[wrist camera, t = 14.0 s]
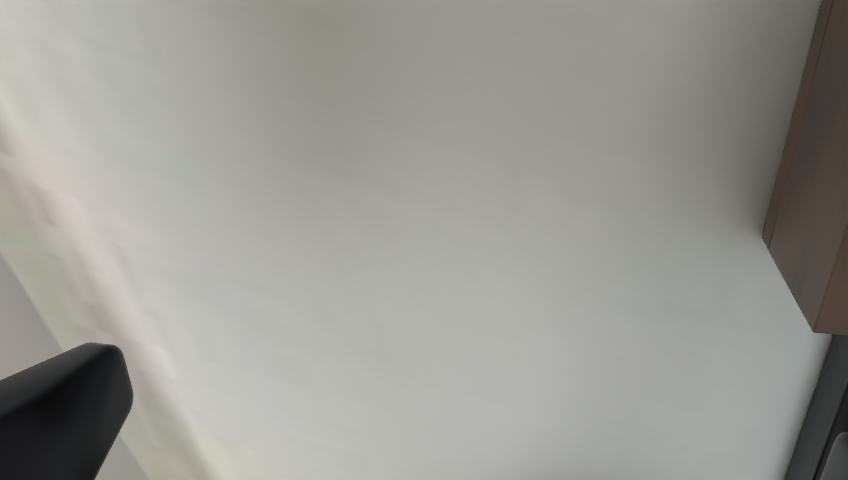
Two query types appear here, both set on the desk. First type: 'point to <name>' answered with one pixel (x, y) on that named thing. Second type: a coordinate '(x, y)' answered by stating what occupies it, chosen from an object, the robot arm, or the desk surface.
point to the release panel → (824, 415)
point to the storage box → (816, 182)
